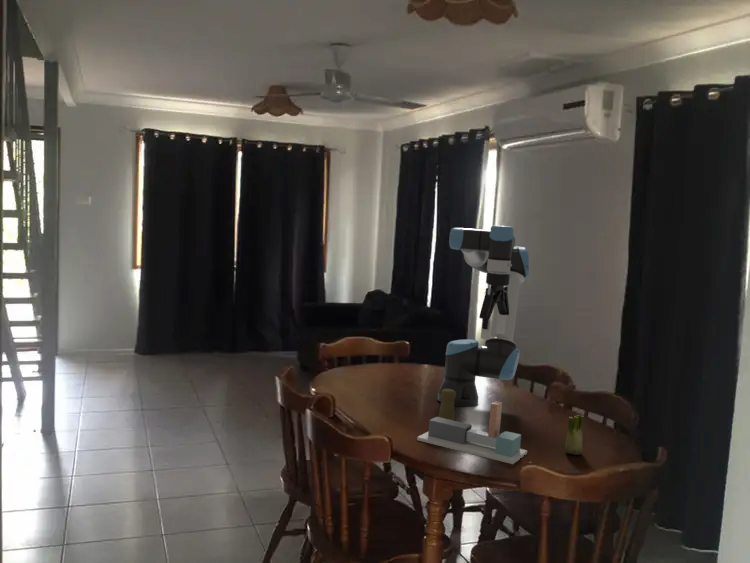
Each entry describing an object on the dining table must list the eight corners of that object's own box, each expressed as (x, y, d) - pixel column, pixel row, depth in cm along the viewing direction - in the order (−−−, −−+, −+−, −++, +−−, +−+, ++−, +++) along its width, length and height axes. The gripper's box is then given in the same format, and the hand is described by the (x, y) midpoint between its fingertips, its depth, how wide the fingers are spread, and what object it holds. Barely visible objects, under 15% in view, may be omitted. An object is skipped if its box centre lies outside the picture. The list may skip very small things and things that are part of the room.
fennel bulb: (566, 456, 216) (569, 417, 215) (560, 450, 221) (564, 412, 220) (584, 457, 216) (588, 418, 215) (579, 451, 221) (583, 413, 220)
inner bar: (456, 438, 219) (459, 397, 217) (461, 435, 222) (465, 394, 221) (506, 451, 210) (510, 407, 209) (511, 447, 214) (515, 404, 213)
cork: (456, 420, 245) (459, 388, 244) (452, 425, 240) (455, 392, 239) (439, 417, 247) (442, 386, 246) (435, 422, 242) (437, 390, 241)
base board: (417, 440, 221) (417, 436, 221) (434, 431, 231) (434, 428, 231) (513, 464, 205) (513, 460, 205) (527, 453, 216) (527, 450, 216)
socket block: (495, 453, 211) (496, 436, 210) (503, 447, 217) (505, 431, 216) (511, 457, 208) (512, 440, 208) (519, 451, 214) (521, 434, 214)
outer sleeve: (428, 435, 223) (429, 420, 222) (435, 432, 227) (436, 416, 227) (463, 444, 217) (465, 428, 216) (470, 440, 221) (471, 424, 221)
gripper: (495, 275, 224) (489, 343, 226) (522, 272, 245) (516, 333, 247) (472, 273, 227) (467, 339, 230) (501, 269, 249) (496, 330, 251)
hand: (492, 336), depth 239 cm, fingers open, 13 cm apart
